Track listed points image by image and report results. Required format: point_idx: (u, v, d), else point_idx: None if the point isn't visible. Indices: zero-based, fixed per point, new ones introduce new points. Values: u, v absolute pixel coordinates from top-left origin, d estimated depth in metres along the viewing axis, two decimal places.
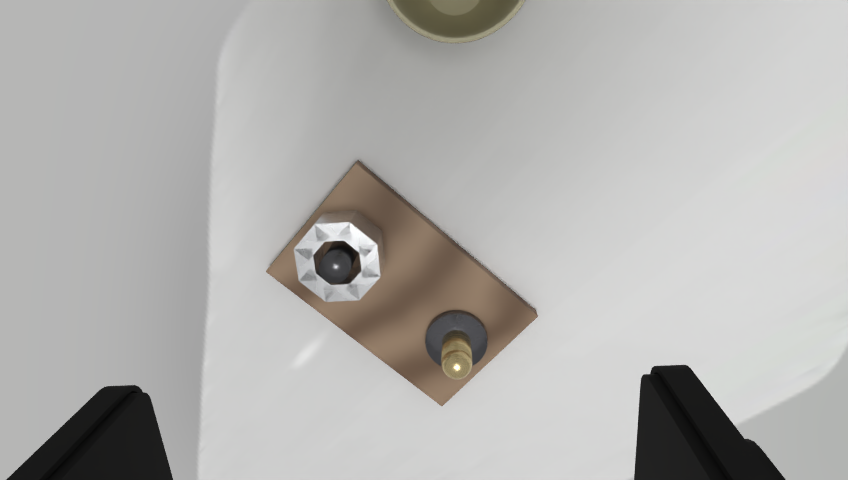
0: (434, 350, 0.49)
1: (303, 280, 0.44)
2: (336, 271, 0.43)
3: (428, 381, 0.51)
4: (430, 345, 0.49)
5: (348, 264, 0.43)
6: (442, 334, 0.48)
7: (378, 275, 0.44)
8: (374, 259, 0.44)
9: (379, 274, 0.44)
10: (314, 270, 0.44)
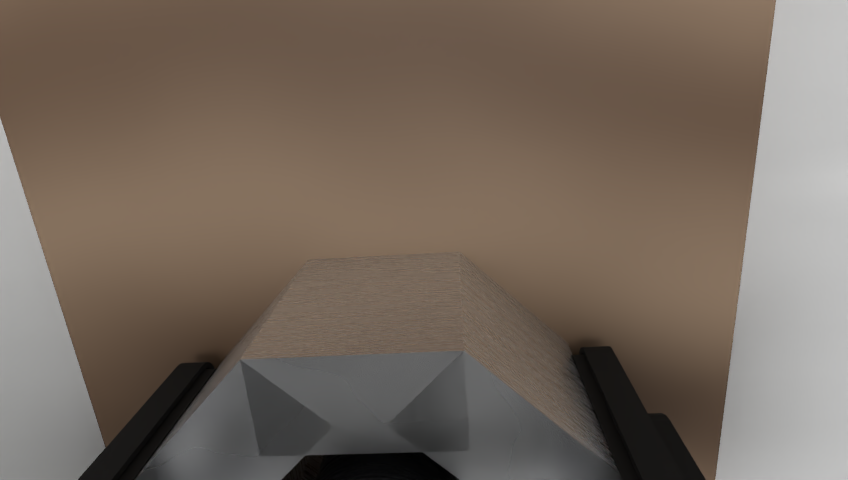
0: None
1: None
2: None
3: None
4: None
5: None
6: None
7: (243, 373, 0.07)
8: (194, 450, 0.07)
9: (236, 371, 0.07)
10: None
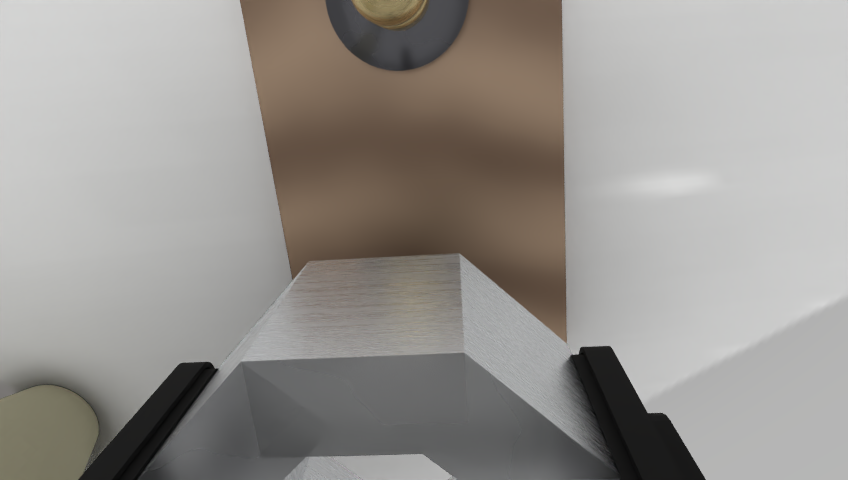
0: (447, 15, 0.21)
1: None
2: None
3: None
4: (445, 34, 0.21)
5: None
6: (405, 35, 0.21)
7: (244, 375, 0.07)
8: (194, 452, 0.07)
9: (237, 373, 0.07)
10: None
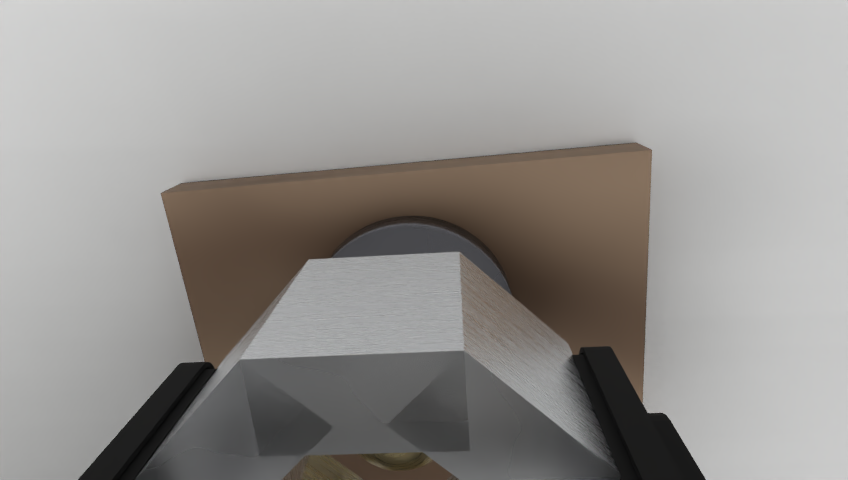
0: None
1: None
2: None
3: (602, 257, 0.15)
4: None
5: None
6: None
7: (243, 373, 0.07)
8: (194, 449, 0.07)
9: (236, 371, 0.07)
10: None
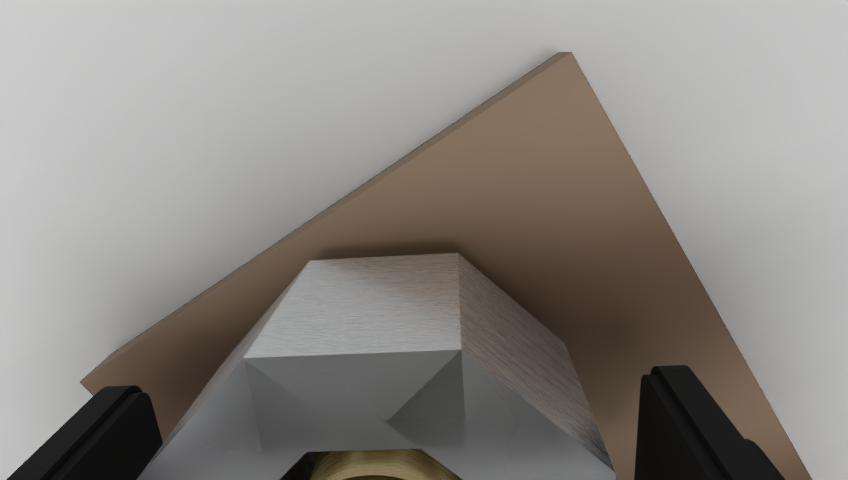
0: None
1: None
2: None
3: (587, 211, 0.11)
4: None
5: None
6: None
7: (247, 371, 0.07)
8: (198, 446, 0.07)
9: (240, 369, 0.07)
10: None
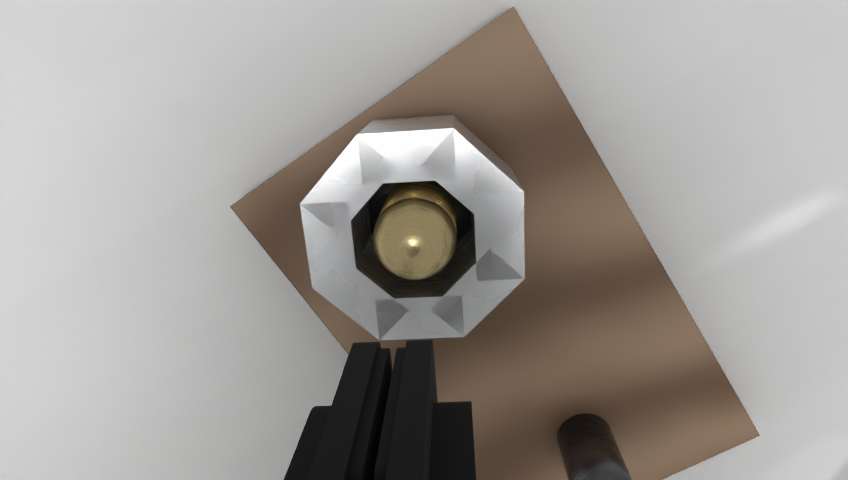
0: None
1: (513, 271, 0.17)
2: None
3: (524, 97, 0.19)
4: None
5: None
6: None
7: (358, 141, 0.16)
8: (332, 181, 0.16)
9: (354, 141, 0.16)
10: (472, 269, 0.17)
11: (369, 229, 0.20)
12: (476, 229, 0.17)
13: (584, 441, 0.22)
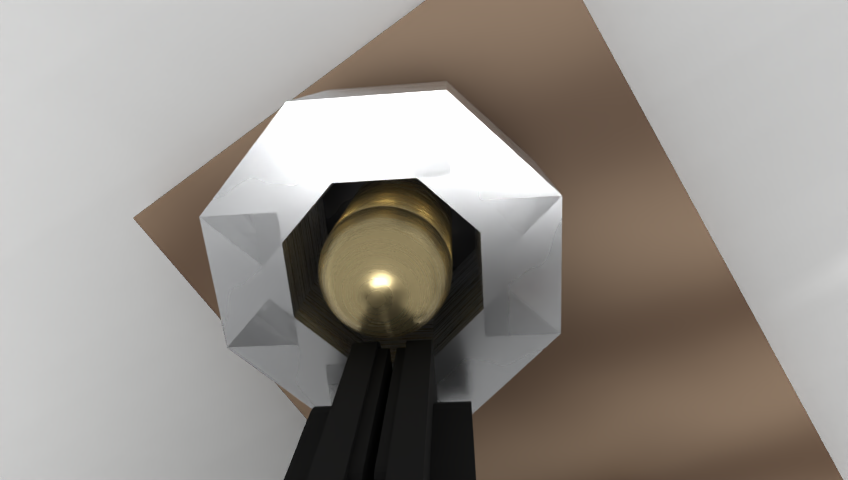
0: None
1: (543, 322, 0.11)
2: None
3: (552, 56, 0.13)
4: None
5: None
6: None
7: (288, 113, 0.10)
8: (250, 180, 0.10)
9: (283, 113, 0.10)
10: (478, 318, 0.11)
11: None
12: (484, 256, 0.10)
13: None
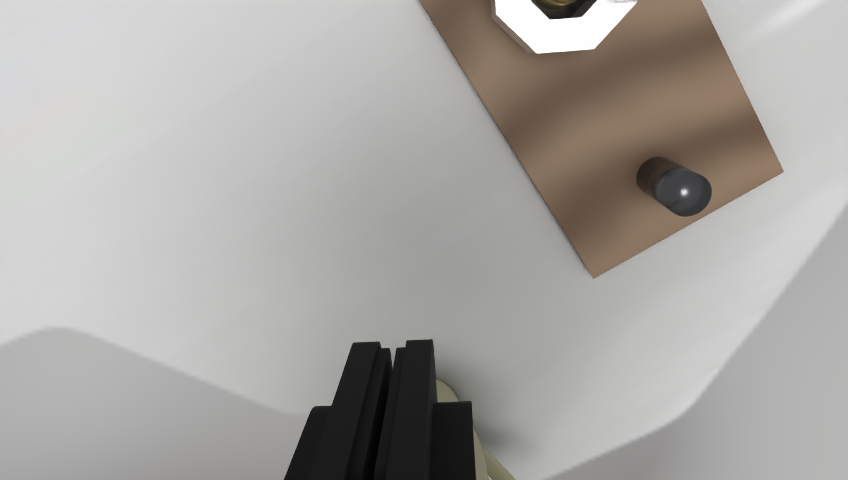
0: None
1: None
2: (686, 191, 0.29)
3: None
4: None
5: (664, 194, 0.29)
6: (570, 5, 0.30)
7: None
8: None
9: None
10: None
11: None
12: None
13: (660, 163, 0.31)
